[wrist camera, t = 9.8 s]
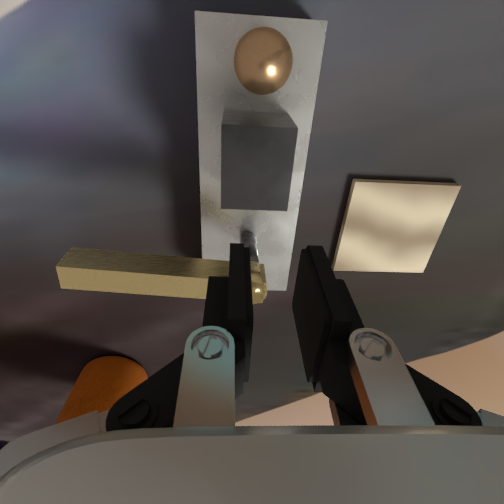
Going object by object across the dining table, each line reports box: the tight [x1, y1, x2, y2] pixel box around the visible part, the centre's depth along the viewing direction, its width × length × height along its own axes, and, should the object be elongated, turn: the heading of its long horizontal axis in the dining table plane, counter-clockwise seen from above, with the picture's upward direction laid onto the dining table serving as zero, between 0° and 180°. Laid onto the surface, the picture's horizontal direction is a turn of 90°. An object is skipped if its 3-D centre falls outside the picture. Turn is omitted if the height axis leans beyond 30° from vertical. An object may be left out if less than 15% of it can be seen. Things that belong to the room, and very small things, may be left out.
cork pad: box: [332, 179, 461, 273], centre depth 36 cm, size 11×11×1 cm
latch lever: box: [56, 247, 267, 304], centre depth 25 cm, size 15×2×2 cm, turn 82°
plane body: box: [195, 11, 328, 290], centre depth 28 cm, size 24×9×9 cm, turn 177°
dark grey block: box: [221, 110, 298, 211], centre depth 25 cm, size 6×5×5 cm
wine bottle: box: [56, 356, 148, 424], centre depth 36 cm, size 10×10×30 cm
